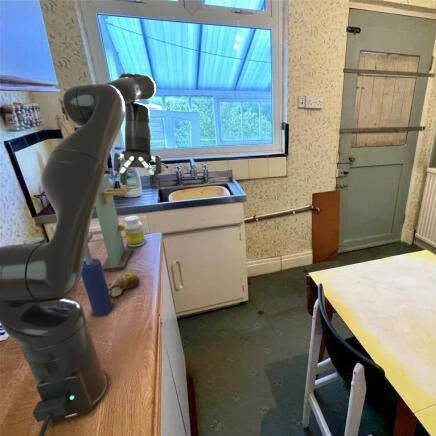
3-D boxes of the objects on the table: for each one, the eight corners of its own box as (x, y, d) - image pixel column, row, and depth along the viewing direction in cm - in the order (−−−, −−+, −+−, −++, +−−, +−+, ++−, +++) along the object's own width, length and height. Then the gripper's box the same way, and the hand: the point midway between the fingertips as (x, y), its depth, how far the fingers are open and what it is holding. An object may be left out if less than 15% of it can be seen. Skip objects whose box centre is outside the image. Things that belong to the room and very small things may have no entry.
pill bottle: (128, 241, 114) (122, 216, 110) (145, 238, 117) (140, 213, 113) (127, 248, 109) (121, 222, 105) (145, 245, 112) (140, 219, 107)
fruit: (106, 284, 88) (104, 274, 87) (136, 275, 93) (133, 266, 92) (111, 298, 83) (109, 288, 81) (142, 288, 88) (140, 278, 86)
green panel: (144, 250, 108) (129, 173, 96) (137, 268, 97) (119, 183, 86) (112, 254, 105) (92, 174, 93) (101, 272, 95) (77, 184, 83)
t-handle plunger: (98, 301, 81) (78, 231, 72) (116, 299, 82) (98, 229, 74) (88, 321, 74) (64, 246, 65) (108, 318, 75) (86, 244, 67)
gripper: (109, 133, 90) (110, 184, 92) (158, 136, 93) (158, 186, 95) (118, 137, 97) (119, 184, 99) (163, 140, 100) (163, 186, 102)
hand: (138, 185), depth 97 cm, fingers open, 8 cm apart
